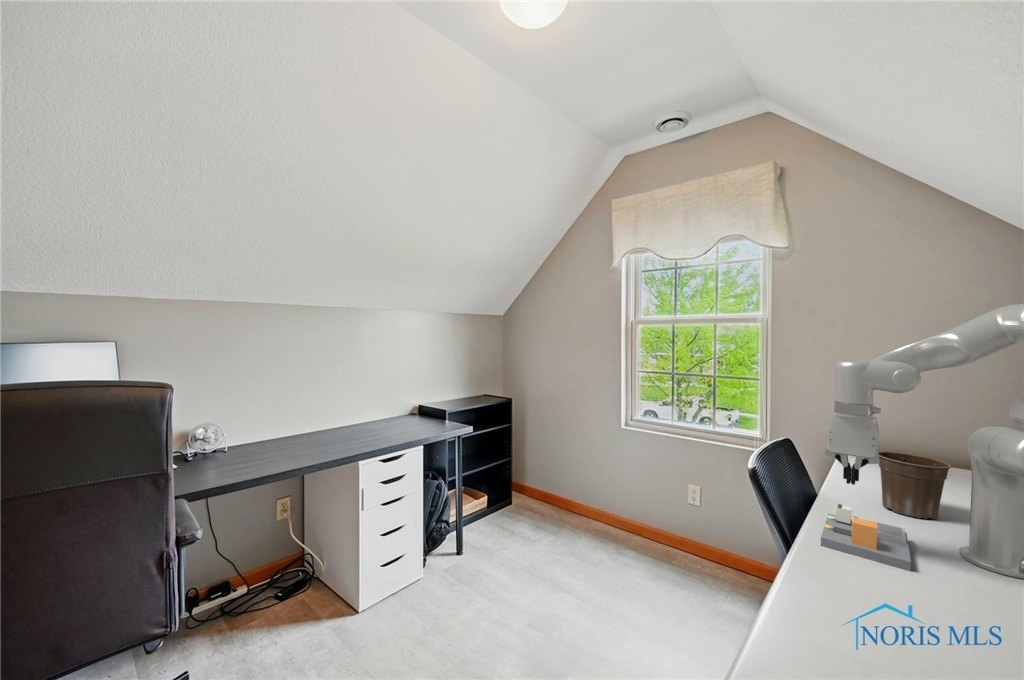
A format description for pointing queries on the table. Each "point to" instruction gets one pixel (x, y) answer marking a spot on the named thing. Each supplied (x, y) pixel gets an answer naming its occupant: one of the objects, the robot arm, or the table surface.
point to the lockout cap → (864, 533)
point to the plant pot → (912, 483)
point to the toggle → (843, 513)
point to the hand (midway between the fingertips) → (850, 482)
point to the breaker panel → (888, 548)
